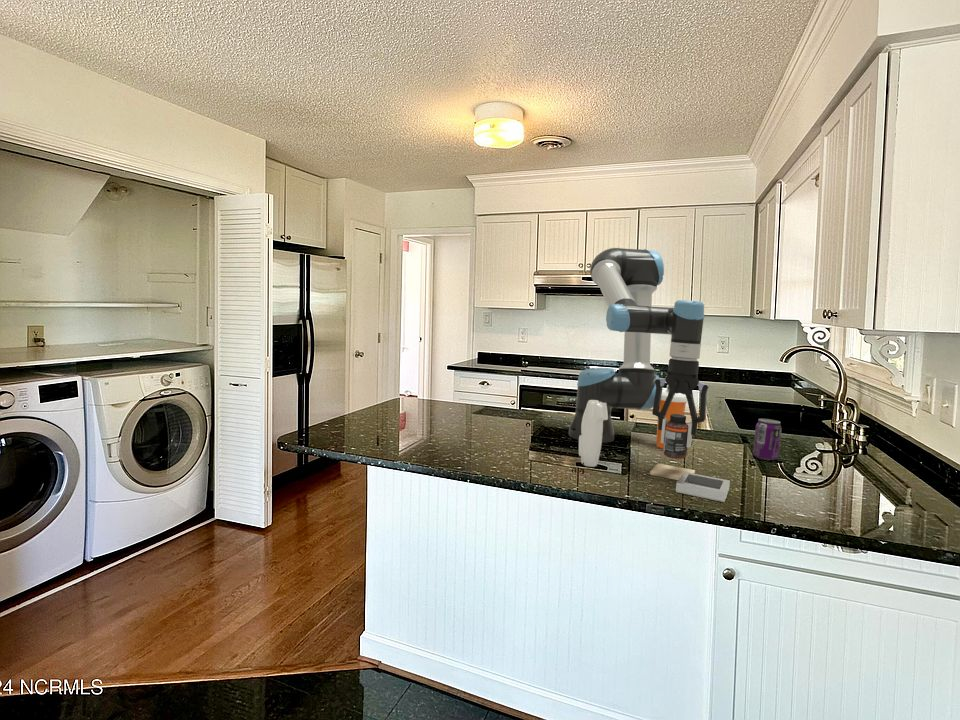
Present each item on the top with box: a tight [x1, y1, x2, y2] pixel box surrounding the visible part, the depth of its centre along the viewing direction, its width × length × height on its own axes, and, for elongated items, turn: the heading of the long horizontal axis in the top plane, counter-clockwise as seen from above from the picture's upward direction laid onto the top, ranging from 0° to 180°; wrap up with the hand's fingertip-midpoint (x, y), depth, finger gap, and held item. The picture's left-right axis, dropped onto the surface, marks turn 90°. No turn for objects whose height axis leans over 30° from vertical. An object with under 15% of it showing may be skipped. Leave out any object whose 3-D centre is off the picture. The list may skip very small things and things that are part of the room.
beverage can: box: [752, 418, 782, 461], centre depth 173 cm, size 7×7×12 cm
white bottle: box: [578, 400, 608, 468], centre depth 154 cm, size 7×18×7 cm
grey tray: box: [675, 472, 731, 503], centre depth 138 cm, size 11×11×2 cm
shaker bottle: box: [655, 384, 688, 450], centre depth 180 cm, size 9×9×20 cm
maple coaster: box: [649, 463, 696, 481], centre depth 151 cm, size 10×10×1 cm
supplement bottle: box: [663, 414, 689, 460], centre depth 150 cm, size 6×6×11 cm
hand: (675, 444), depth 150 cm, fingers closed on supplement bottle, 6 cm apart
